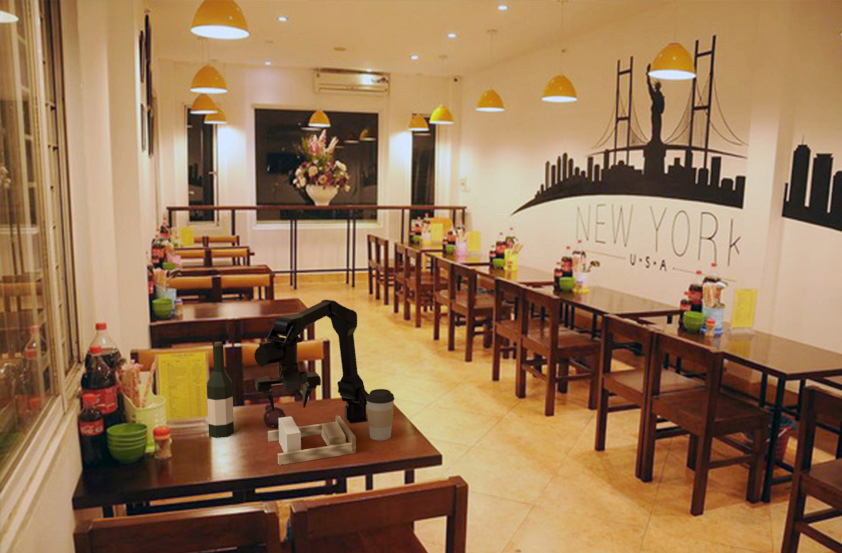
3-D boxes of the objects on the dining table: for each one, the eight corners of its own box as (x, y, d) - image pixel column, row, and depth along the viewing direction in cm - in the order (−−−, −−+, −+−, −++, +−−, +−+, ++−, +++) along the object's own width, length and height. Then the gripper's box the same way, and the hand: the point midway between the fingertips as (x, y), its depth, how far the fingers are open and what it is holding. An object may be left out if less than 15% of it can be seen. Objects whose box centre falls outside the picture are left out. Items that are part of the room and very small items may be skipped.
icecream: (295, 412, 208) (278, 403, 220) (273, 411, 204) (257, 401, 216) (291, 433, 208) (274, 423, 220) (269, 432, 203) (253, 422, 216)
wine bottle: (238, 428, 211) (235, 339, 206) (228, 438, 202) (225, 346, 198) (214, 427, 211) (210, 339, 207) (203, 437, 203) (199, 345, 199)
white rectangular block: (291, 440, 202) (291, 416, 200) (301, 458, 189) (300, 432, 188) (279, 442, 200) (278, 417, 199) (287, 460, 187) (286, 434, 186)
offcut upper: (337, 429, 206) (337, 421, 205) (345, 443, 194) (345, 435, 194) (322, 431, 204) (322, 423, 204) (329, 445, 193) (329, 437, 192)
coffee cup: (360, 438, 203) (360, 392, 201) (375, 428, 211) (375, 384, 209) (385, 443, 199) (385, 397, 197) (399, 433, 207) (399, 389, 205)
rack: (339, 430, 210) (339, 415, 209) (355, 452, 192) (355, 437, 192) (268, 440, 201) (267, 425, 201) (278, 465, 184) (278, 448, 183)
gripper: (259, 369, 179) (261, 422, 182) (325, 363, 186) (325, 414, 189) (254, 359, 190) (255, 409, 192) (316, 353, 197) (317, 402, 199)
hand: (288, 409), depth 193 cm, fingers open, 9 cm apart
